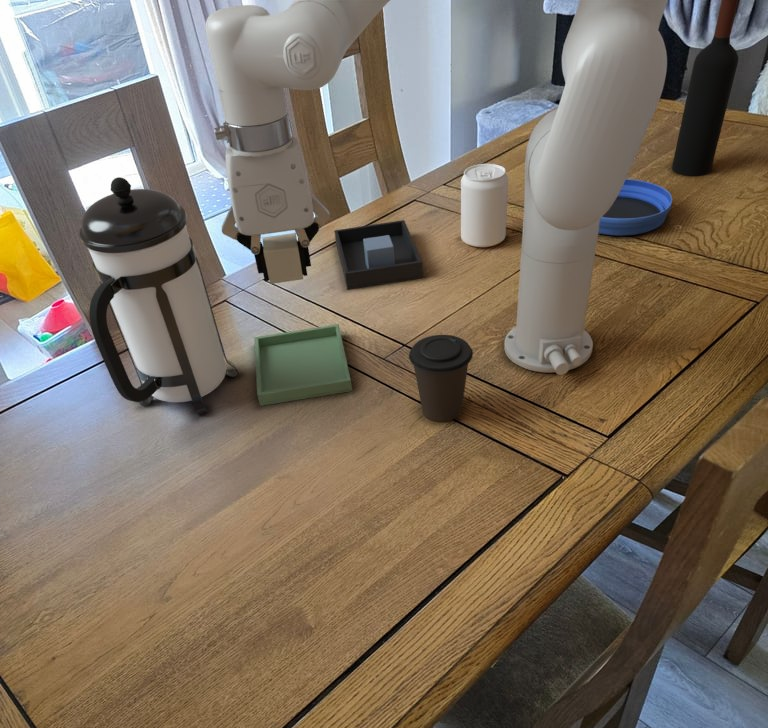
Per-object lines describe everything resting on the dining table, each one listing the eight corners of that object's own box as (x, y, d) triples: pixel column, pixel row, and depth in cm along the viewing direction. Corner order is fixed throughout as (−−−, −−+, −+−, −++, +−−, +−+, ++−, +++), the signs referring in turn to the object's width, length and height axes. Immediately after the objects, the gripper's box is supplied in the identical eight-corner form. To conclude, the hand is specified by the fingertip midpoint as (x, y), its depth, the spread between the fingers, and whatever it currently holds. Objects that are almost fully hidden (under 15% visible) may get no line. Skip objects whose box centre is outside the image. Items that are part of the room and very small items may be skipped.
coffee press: (126, 377, 106) (40, 172, 84) (229, 350, 109) (171, 145, 87) (140, 445, 94) (44, 227, 72) (254, 412, 97) (195, 193, 75)
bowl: (680, 235, 123) (685, 215, 120) (577, 242, 124) (579, 222, 121) (655, 193, 135) (658, 174, 133) (561, 200, 136) (563, 181, 134)
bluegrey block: (395, 271, 121) (393, 246, 118) (369, 275, 121) (366, 250, 117) (391, 259, 124) (389, 234, 121) (365, 263, 124) (363, 238, 121)
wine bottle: (671, 175, 140) (709, -7, 119) (672, 161, 145) (709, -17, 124) (711, 176, 138) (758, -9, 117) (710, 162, 143) (755, -18, 122)
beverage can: (504, 229, 130) (508, 161, 121) (505, 249, 124) (509, 179, 116) (461, 230, 131) (461, 163, 122) (460, 250, 125) (460, 182, 117)
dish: (352, 391, 99) (350, 380, 97) (260, 406, 98) (257, 395, 97) (340, 334, 109) (338, 323, 108) (256, 347, 108) (254, 337, 107)
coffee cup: (477, 394, 96) (478, 331, 89) (466, 432, 90) (466, 367, 83) (420, 388, 98) (416, 326, 91) (405, 425, 92) (401, 361, 85)
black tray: (422, 277, 120) (422, 261, 117) (347, 289, 119) (345, 273, 117) (405, 235, 131) (404, 219, 129) (336, 245, 131) (334, 230, 129)
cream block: (303, 279, 96) (297, 247, 92) (270, 284, 95) (263, 252, 92) (301, 264, 99) (295, 232, 95) (268, 268, 98) (262, 237, 95)
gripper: (188, 153, 81) (225, 296, 94) (331, 134, 82) (348, 278, 95) (190, 131, 86) (225, 270, 99) (325, 114, 87) (342, 253, 100)
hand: (285, 272), depth 97 cm, fingers closed on cream block, 4 cm apart
